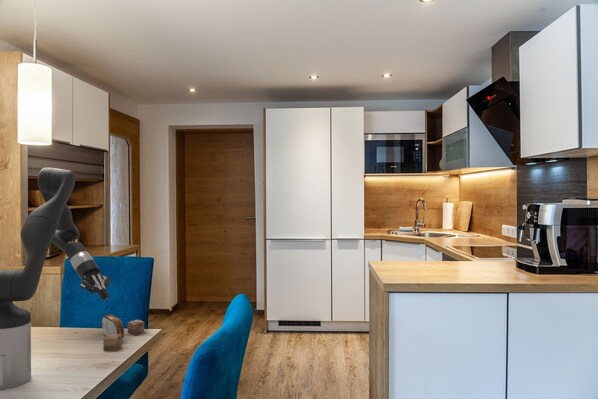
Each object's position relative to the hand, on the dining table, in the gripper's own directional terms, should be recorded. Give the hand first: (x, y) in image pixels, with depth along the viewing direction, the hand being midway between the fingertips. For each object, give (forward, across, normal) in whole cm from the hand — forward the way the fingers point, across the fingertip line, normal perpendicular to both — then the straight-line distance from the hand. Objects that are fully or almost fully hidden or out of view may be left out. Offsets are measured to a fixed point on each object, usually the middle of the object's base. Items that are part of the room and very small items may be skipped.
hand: (106, 298), depth 157 cm
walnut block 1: (+19, -8, +2) cm, 21 cm away
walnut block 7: (+16, +8, +6) cm, 18 cm away
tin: (+13, 0, +8) cm, 16 cm away
